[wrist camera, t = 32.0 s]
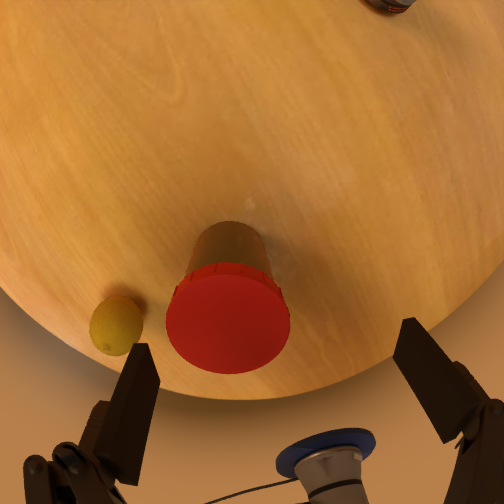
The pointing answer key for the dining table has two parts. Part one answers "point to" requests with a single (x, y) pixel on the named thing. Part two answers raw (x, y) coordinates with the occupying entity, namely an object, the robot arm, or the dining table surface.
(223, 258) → the jar
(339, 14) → the dining table surface
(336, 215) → the dining table surface
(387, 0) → the beverage can
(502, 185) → the dining table surface
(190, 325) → the cap
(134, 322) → the lemon
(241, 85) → the dining table surface
